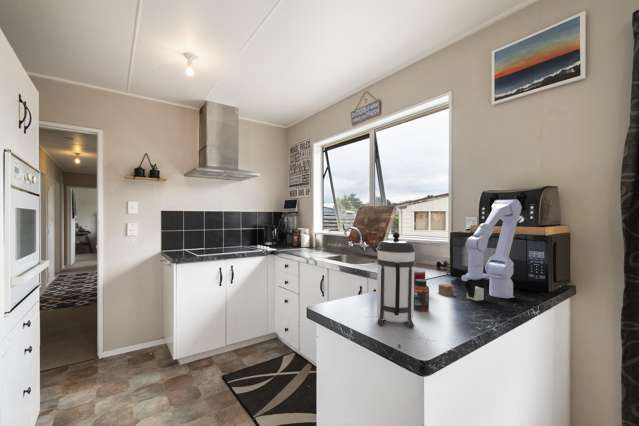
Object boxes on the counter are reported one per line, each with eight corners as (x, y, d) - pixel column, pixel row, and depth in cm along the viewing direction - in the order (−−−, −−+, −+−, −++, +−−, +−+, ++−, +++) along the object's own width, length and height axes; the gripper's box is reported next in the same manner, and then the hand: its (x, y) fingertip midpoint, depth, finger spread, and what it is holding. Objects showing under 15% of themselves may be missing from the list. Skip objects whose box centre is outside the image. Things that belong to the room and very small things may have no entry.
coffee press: (360, 318, 104) (362, 231, 104) (395, 311, 112) (397, 230, 112) (396, 336, 89) (398, 235, 89) (433, 327, 97) (435, 234, 97)
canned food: (422, 292, 141) (423, 268, 141) (426, 297, 133) (427, 272, 133) (405, 291, 141) (406, 268, 141) (409, 296, 133) (409, 271, 133)
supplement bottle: (429, 308, 116) (430, 279, 116) (428, 313, 111) (428, 282, 111) (413, 306, 119) (414, 277, 119) (411, 310, 113) (411, 280, 113)
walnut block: (445, 292, 138) (446, 283, 138) (453, 294, 134) (454, 285, 134) (438, 293, 136) (438, 284, 136) (446, 295, 132) (446, 286, 132)
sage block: (474, 297, 131) (474, 285, 132) (483, 300, 127) (483, 288, 127) (466, 298, 130) (467, 286, 130) (476, 301, 126) (476, 289, 126)
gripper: (479, 262, 135) (478, 292, 135) (455, 264, 129) (455, 295, 129) (493, 265, 129) (493, 296, 129) (469, 266, 123) (469, 300, 123)
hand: (475, 296), depth 129 cm, fingers closed on sage block, 4 cm apart
